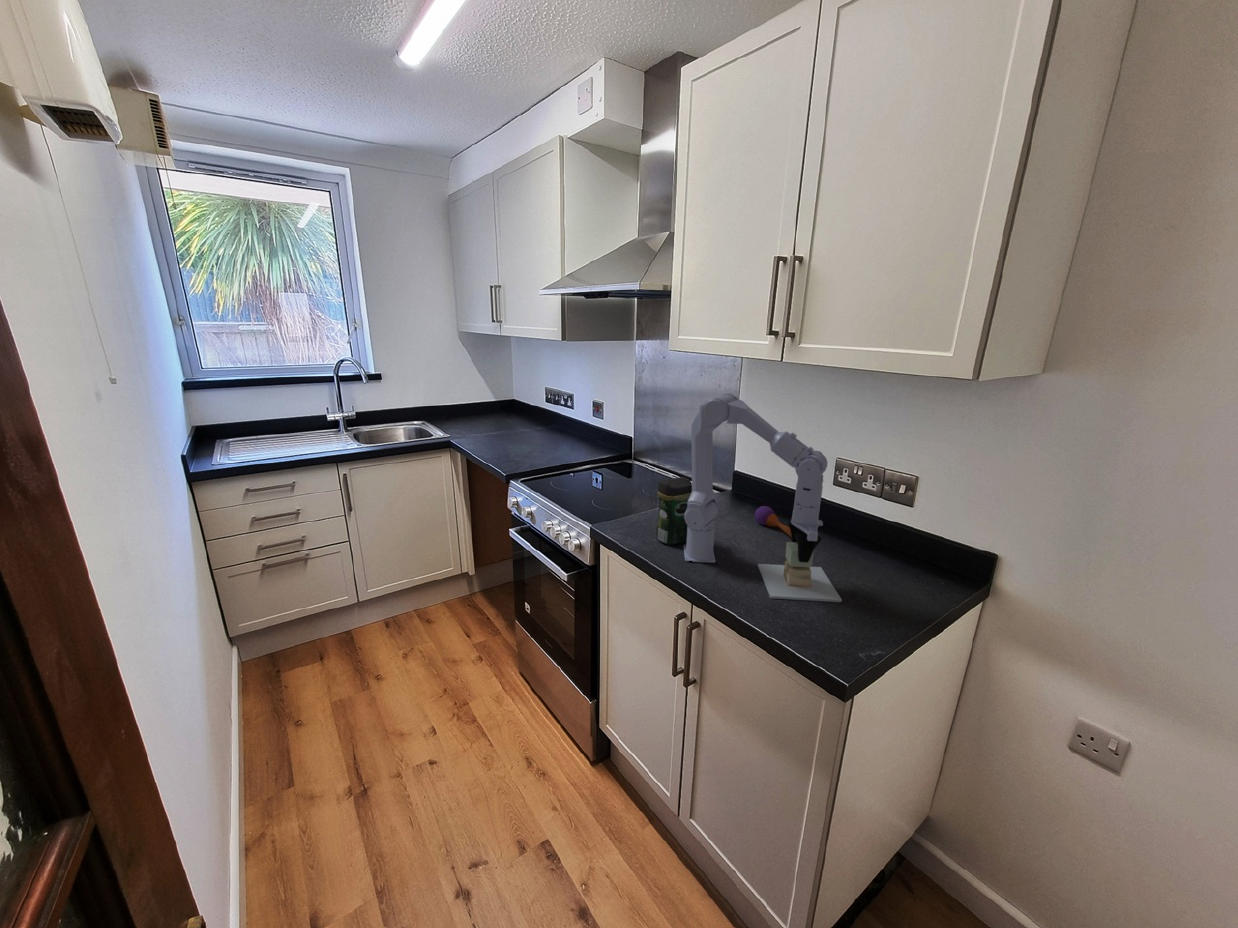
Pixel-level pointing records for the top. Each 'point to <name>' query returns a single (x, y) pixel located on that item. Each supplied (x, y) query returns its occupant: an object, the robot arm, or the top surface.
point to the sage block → (796, 556)
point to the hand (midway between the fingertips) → (800, 556)
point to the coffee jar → (673, 510)
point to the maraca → (769, 518)
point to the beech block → (797, 575)
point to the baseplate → (781, 590)
